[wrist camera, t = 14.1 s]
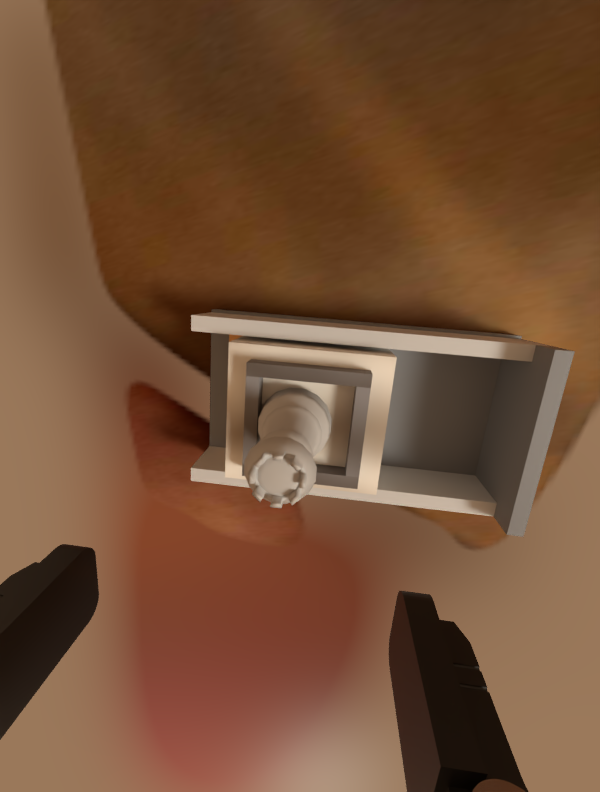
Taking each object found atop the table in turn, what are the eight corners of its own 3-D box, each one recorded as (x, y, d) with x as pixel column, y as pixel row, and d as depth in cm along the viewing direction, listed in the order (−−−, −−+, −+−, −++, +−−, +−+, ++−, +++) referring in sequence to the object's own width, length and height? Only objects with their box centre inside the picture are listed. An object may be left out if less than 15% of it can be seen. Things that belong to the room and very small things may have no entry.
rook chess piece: (254, 442, 24) (215, 512, 16) (269, 377, 23) (236, 418, 15) (321, 461, 24) (314, 539, 16) (340, 396, 23) (343, 447, 15)
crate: (247, 333, 27) (223, 344, 21) (385, 346, 26) (400, 360, 21) (242, 447, 30) (219, 486, 24) (369, 461, 29) (378, 504, 23)
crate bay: (215, 309, 28) (178, 313, 21) (515, 334, 27) (575, 347, 20) (213, 454, 31) (179, 497, 25) (480, 484, 30) (522, 539, 23)
